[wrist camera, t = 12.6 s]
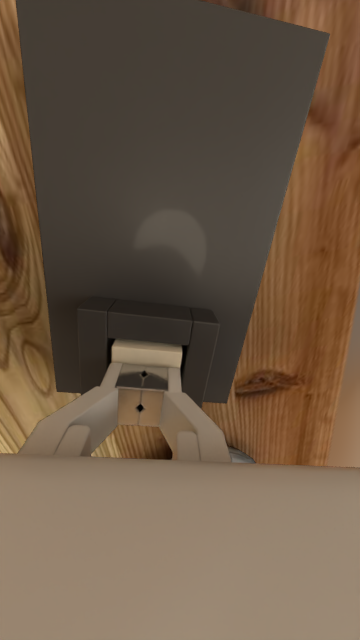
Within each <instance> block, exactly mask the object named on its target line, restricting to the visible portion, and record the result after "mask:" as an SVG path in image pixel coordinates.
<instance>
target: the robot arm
mask: <svg viewBox="0 0 360 640" xmlns="http://www.w3.org/2000/svg"><path fill="white" fill-rule="evenodd" d="M117 425H141V426H153V427H159V428H160V430H161V432H162V434H163V435H164V437H165V439H166V441H167V443H168V444H169V446H170V448H171V450H172V452H173V456H172V460H159V459H134V458H109V457H91V453H92V452H93V451H94V450H95V449H96V448H97V447H98V446H99V445H100V444H101V443H102V442H103V441H104V440H105V438H106V437H107V436H108V435H109V434H110V433H111V432H112V431H113V430H114V429H115V428H116V427H117ZM0 640H360V468H355V467H330V466H305V465H281V464H255V463H232V462H231V458H230V455H229V451H228V447H227V444H226V440H225V436H224V433H223V431H222V430H221V429H220V428H219V427H218V426H217V425H216V424H215V423H214V422H213V421H212V420H211V419H210V418H209V417H208V416H207V415H206V414H205V413H204V412H203V411H202V410H201V409H200V408H199V407H198V405H197V404H196V403H195V402H194V401H193V400H192V399H191V398H190V397H189V396H188V395H187V394H186V393H182V388H181V377H180V369H179V368H173V367H153V366H144V365H134V364H125V363H113V362H112V363H110V365H109V367H108V369H107V372H106V374H105V376H104V378H103V381H102V383H101V385H100V387H98V386H96V387H94V388H93V389H91V390H90V391H88V392H86V393H85V394H83V395H81V396H80V397H78V398H77V399H75V400H73V401H72V402H70V403H68V404H67V405H65V406H64V407H62V408H60V409H59V410H57V411H55V412H54V413H52V414H51V415H49V416H47V417H46V418H44V419H42V420H41V421H39V422H38V424H37V425H36V427H35V428H34V430H33V431H32V433H31V434H30V436H29V437H28V438H27V440H26V441H25V443H24V444H23V446H22V447H21V449H20V450H19V452H18V453H17V454H10V453H0Z"/></svg>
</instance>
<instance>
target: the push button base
mask: <svg viewBox="0 0 360 640" xmlns="http://www.w3.org/2000/svg"><path fill="white" fill-rule="evenodd" d="M16 8H17V17H18V27H19V36H20V46H21V55H22V65H23V74H24V84H25V93H26V103H27V113H28V122H29V132H30V141H31V151H32V160H33V170H34V179H35V189H36V198H37V208H38V217H39V227H40V237H41V246H42V256H43V265H44V275H45V284H46V294H47V303H48V313H49V322H50V332H51V341H52V351H53V360H54V370H55V380H56V389H57V392H68V393H81V395H83V394H85V393H86V392H88V391H90V390H91V389H93V388H94V387H96V386H98V387H100V385H101V383H102V381H103V378H104V376H105V374H106V372H107V369H108V367H109V365H110V363H112V346H113V344H114V342H115V340H116V339H126V340H136V341H147V342H157V343H168V344H179V345H181V346H182V359H181V365H180V377H181V388H182V393H186V394H187V395H188V396H189V397H190V398H191V399H192V400H193V401H194V402H195V403H196V404H197V405H198V407H199V408H200V409H201V408H202V403H203V402H212V403H227V400H228V396H229V393H230V389H231V386H232V382H233V379H234V375H235V371H236V368H237V364H238V361H239V357H240V354H241V350H242V347H243V343H244V339H245V336H246V332H247V329H248V325H249V322H250V318H251V314H252V311H253V307H254V304H255V300H256V297H257V293H258V290H259V286H260V282H261V279H262V275H263V272H264V268H265V265H266V261H267V257H268V254H269V250H270V247H271V243H272V240H273V236H274V232H275V229H276V225H277V222H278V218H279V215H280V211H281V208H282V204H283V200H284V197H285V193H286V190H287V186H288V183H289V179H290V175H291V172H292V168H293V165H294V161H295V158H296V154H297V151H298V147H299V143H300V140H301V136H302V133H303V129H304V126H305V122H306V118H307V115H308V111H309V108H310V104H311V101H312V97H313V94H314V90H315V86H316V83H317V79H318V76H319V72H320V69H321V65H322V61H323V58H324V54H325V51H326V47H327V44H328V40H329V36H330V34H329V33H326V32H322V31H318V30H314V29H310V28H306V27H302V26H298V25H294V24H291V23H287V22H283V21H279V20H275V19H271V18H267V17H263V16H259V15H255V14H251V13H248V12H244V11H240V10H236V9H232V8H228V7H224V6H220V5H216V4H212V3H209V2H205V1H201V0H16Z"/></svg>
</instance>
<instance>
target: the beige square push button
mask: <svg viewBox="0 0 360 640" xmlns="http://www.w3.org/2000/svg"><path fill="white" fill-rule="evenodd" d="M181 359H182V346H181V345H179V344H168V343H157V342H147V341H136V340H126V339H116V340H115V342H114V344H113V346H112V362H113V363H125V364H134V365H144V366H153V367H173V368H179V369H180V365H181Z"/></svg>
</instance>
